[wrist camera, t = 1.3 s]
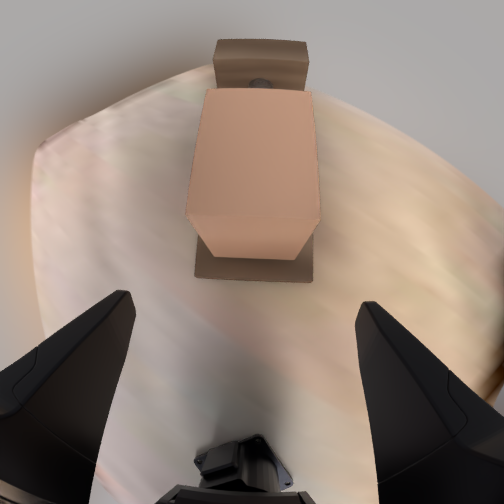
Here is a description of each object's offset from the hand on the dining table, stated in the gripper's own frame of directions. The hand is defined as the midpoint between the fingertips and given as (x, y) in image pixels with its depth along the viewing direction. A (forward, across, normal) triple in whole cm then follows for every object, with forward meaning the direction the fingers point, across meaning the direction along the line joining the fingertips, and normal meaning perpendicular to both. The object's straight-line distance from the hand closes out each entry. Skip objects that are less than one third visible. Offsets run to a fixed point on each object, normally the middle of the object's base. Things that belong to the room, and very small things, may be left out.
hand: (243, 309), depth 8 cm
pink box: (+14, 0, +3) cm, 15 cm away
